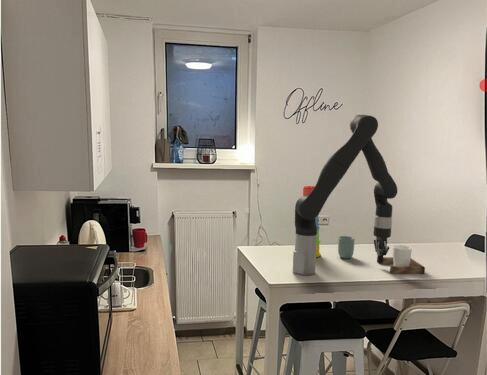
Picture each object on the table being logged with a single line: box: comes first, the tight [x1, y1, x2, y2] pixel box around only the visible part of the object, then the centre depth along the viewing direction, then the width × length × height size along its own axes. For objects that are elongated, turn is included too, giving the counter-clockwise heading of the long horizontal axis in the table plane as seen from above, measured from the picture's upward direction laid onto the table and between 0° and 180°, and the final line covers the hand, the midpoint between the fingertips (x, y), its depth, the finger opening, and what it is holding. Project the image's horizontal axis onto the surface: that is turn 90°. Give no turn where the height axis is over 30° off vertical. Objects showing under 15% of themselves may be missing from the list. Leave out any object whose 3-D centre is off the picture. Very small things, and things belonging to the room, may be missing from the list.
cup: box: [337, 235, 356, 260], centre depth 208 cm, size 8×8×10 cm
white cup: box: [392, 244, 413, 266], centre depth 193 cm, size 8×8×10 cm
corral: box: [381, 256, 426, 275], centre depth 194 cm, size 15×15×3 cm
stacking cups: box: [302, 185, 321, 258], centre depth 209 cm, size 10×10×35 cm
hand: (379, 263), depth 193 cm, fingers closed
